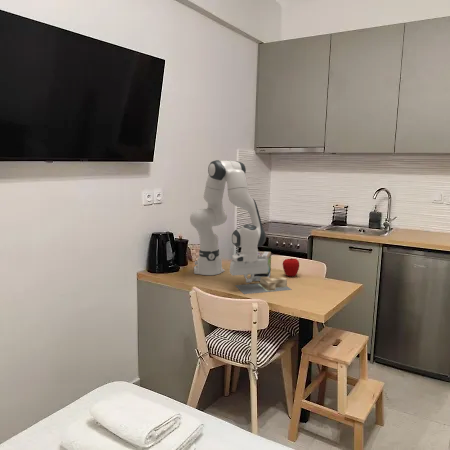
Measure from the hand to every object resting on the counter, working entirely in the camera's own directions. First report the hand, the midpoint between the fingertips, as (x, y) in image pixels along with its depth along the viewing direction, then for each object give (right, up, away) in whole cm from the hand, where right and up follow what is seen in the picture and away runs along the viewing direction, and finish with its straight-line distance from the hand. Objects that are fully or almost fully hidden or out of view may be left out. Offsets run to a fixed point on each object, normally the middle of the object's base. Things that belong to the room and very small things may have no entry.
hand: (248, 282), depth 219 cm
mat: (+8, -4, +2) cm, 9 cm away
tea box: (+8, -1, +22) cm, 23 cm away
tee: (+14, -3, +4) cm, 15 cm away
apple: (+26, 0, +28) cm, 38 cm away
